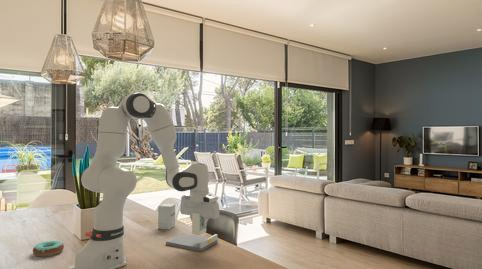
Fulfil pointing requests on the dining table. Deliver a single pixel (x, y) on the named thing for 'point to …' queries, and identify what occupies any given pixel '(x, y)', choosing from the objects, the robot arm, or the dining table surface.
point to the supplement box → (166, 216)
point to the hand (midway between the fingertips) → (199, 225)
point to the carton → (197, 224)
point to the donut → (48, 248)
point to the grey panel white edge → (192, 242)
